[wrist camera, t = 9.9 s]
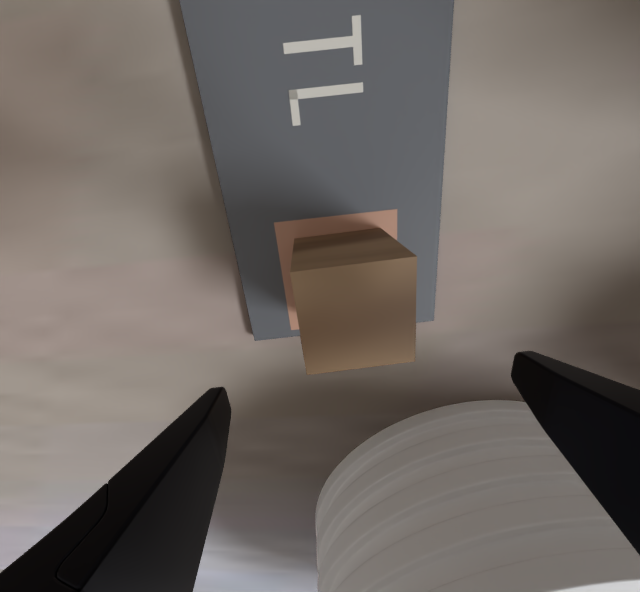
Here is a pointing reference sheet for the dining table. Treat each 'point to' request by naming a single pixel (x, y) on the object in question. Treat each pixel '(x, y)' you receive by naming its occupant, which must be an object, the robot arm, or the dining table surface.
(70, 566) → the robot arm
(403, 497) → the plate stack
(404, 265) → the walnut block
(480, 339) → the dining table surface
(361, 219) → the board
